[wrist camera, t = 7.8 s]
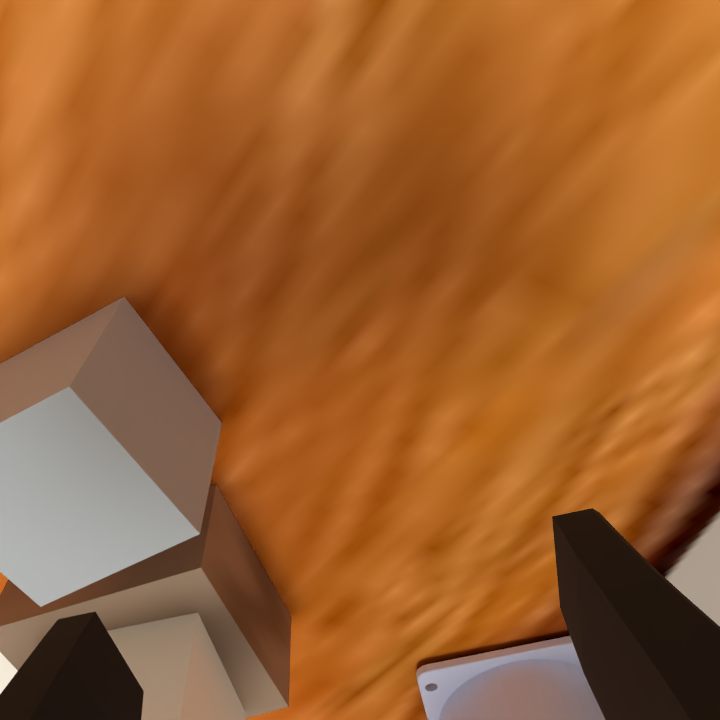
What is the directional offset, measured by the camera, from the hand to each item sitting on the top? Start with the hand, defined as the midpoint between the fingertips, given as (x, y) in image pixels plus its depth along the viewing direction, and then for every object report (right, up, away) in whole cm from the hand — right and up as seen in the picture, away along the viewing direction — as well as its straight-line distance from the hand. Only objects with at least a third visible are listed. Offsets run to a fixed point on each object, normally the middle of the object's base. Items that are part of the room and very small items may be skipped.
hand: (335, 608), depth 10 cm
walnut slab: (-7, -4, +14) cm, 16 cm away
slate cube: (-7, +3, +10) cm, 13 cm away
